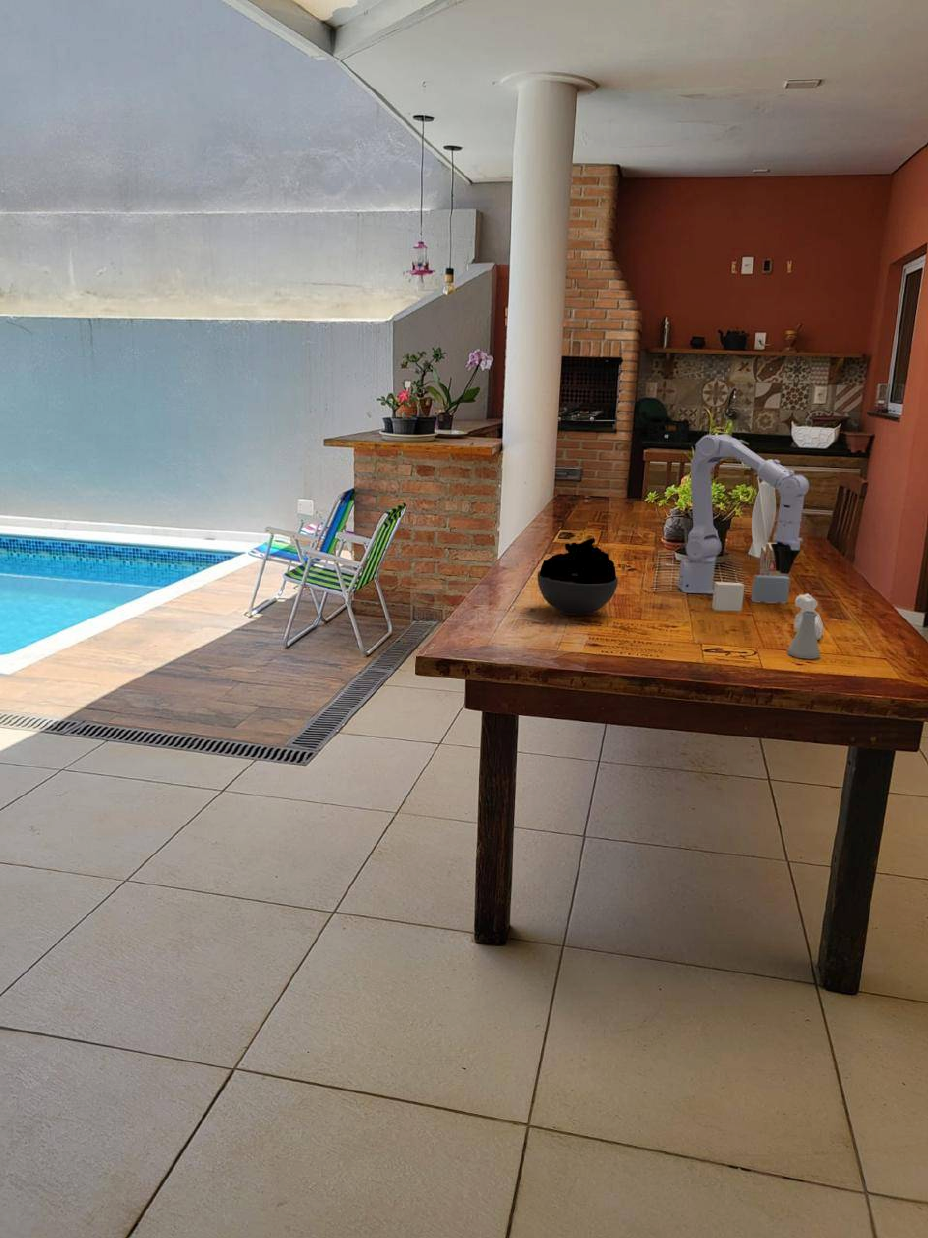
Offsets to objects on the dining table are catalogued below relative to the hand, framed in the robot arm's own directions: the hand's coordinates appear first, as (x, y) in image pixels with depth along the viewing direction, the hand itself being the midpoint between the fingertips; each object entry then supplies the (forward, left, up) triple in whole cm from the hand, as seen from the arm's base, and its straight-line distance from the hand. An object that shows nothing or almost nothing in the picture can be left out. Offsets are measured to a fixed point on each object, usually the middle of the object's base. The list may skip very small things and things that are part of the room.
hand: (782, 571), depth 250 cm
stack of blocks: (+9, +31, -10) cm, 34 cm away
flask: (-9, -44, -10) cm, 46 cm away
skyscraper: (+19, +75, -10) cm, 78 cm away
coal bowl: (-57, -16, -10) cm, 60 cm away
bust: (-2, -27, -10) cm, 29 cm away
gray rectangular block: (0, +7, -10) cm, 12 cm away
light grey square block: (-15, -4, -10) cm, 18 cm away
